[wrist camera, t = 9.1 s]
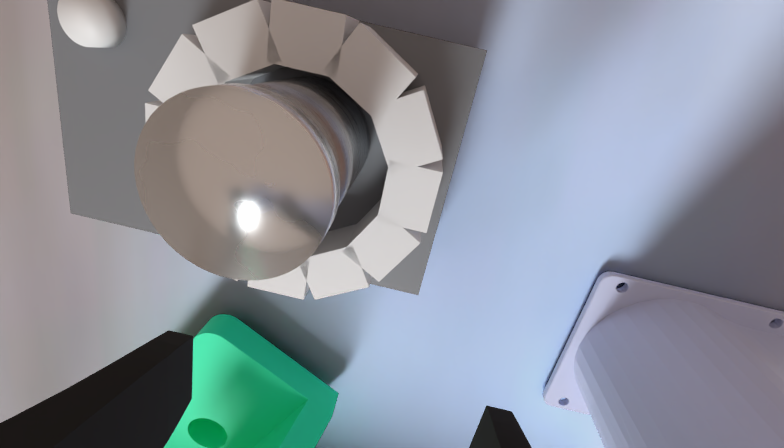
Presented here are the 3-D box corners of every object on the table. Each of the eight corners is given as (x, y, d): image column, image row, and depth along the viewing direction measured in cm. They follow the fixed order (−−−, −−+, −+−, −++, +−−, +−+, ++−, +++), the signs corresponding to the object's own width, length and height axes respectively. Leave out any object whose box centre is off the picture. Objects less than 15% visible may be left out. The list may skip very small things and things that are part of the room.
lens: (387, 96, 13) (354, 125, 8) (354, 211, 15) (308, 303, 9) (263, 55, 13) (138, 55, 8) (243, 176, 15) (130, 248, 9)
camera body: (476, 51, 16) (496, 49, 11) (420, 254, 19) (415, 326, 14) (121, -32, 16) (-26, -72, 11) (131, 186, 19) (23, 233, 14)
